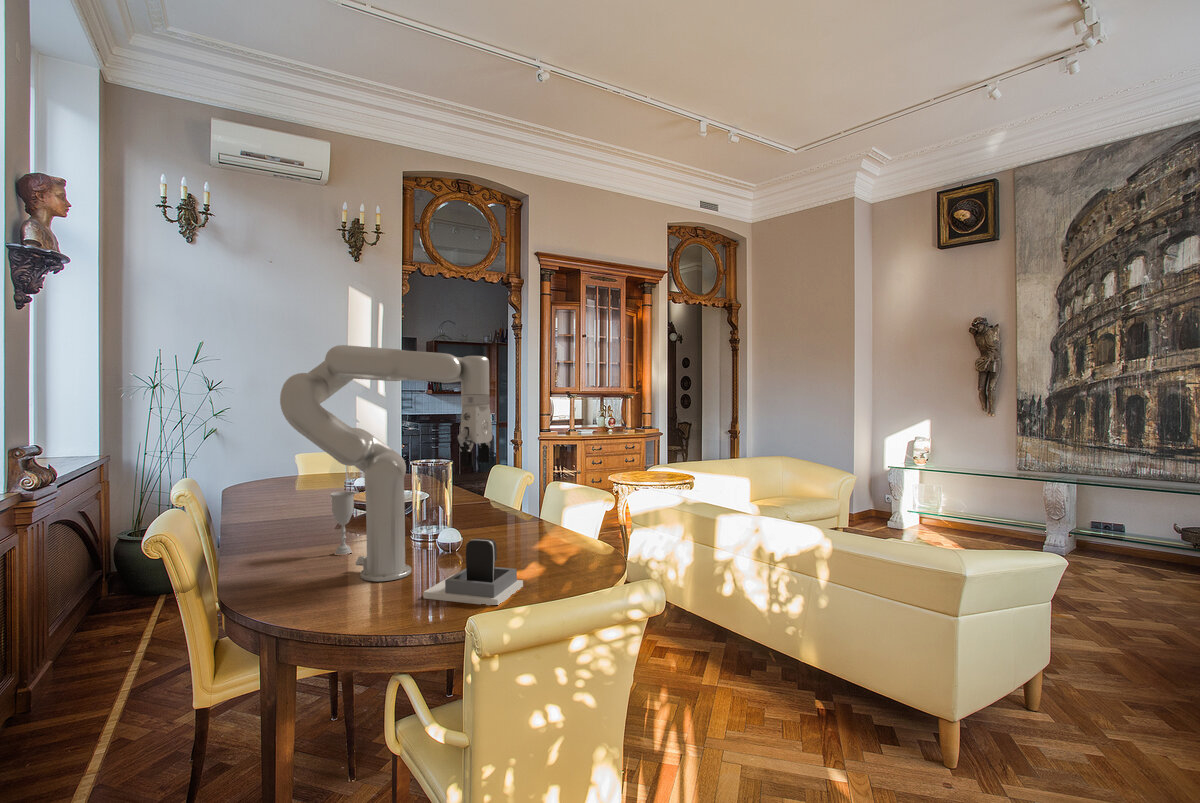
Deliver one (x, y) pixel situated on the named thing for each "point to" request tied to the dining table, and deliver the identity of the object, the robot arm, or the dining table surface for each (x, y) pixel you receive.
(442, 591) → the dock
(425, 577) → the dining table surface
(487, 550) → the battery charger
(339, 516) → the chalice
